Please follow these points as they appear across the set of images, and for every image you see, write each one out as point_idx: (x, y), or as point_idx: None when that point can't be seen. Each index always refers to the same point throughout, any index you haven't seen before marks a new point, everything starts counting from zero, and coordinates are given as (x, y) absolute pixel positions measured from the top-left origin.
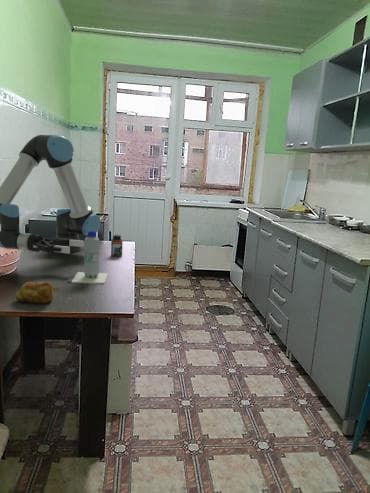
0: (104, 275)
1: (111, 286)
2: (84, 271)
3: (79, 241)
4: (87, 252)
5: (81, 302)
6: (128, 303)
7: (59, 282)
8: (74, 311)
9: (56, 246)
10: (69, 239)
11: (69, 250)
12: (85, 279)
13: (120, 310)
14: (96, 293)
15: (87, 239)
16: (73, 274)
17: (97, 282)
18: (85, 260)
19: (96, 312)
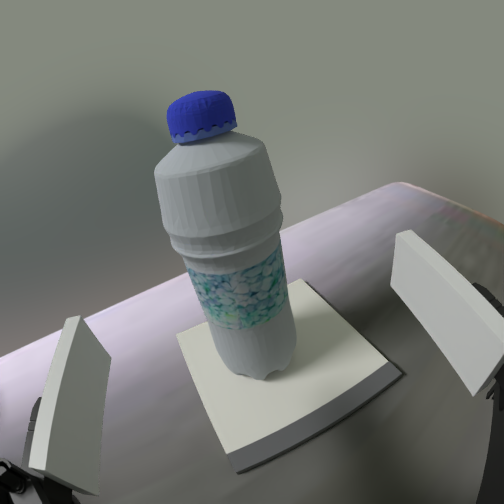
0: None
1: (307, 259)
2: (289, 351)
3: (74, 351)
4: (279, 236)
5: (454, 233)
6: (371, 194)
7: (425, 404)
8: (482, 217)
9: (498, 321)
10: (25, 476)
11: (397, 262)
12: (319, 344)
13: (406, 188)
14: (389, 248)
15: (261, 143)
16: (290, 439)
17: (316, 293)
18: (283, 297)
19: (448, 199)
